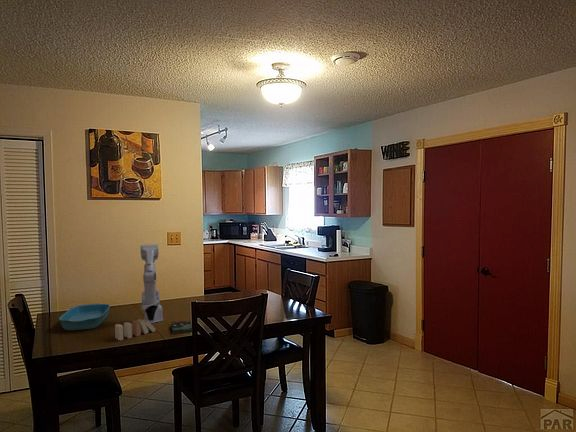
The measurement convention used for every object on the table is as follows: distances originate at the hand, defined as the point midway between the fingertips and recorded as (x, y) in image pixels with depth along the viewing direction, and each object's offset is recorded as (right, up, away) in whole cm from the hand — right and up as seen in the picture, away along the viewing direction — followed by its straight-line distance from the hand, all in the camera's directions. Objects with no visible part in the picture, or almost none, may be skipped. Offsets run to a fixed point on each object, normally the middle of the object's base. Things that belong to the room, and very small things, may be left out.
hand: (151, 320), depth 219 cm
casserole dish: (-43, -7, +18) cm, 47 cm away
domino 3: (-6, -6, -5) cm, 10 cm away
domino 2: (-9, -6, -9) cm, 14 cm away
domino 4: (-2, -6, -2) cm, 7 cm away
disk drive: (+15, -6, +3) cm, 17 cm away
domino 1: (-12, -7, -12) cm, 18 cm away
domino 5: (+1, -5, +1) cm, 5 cm away
